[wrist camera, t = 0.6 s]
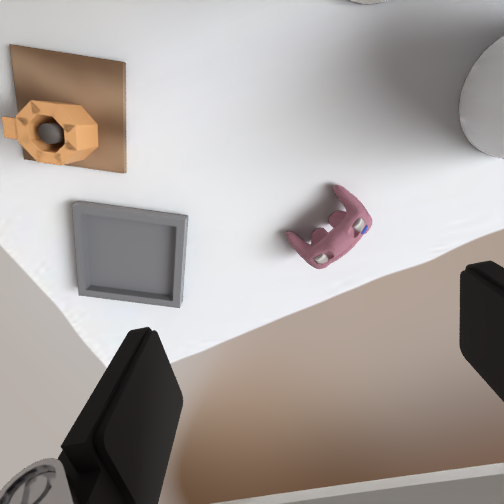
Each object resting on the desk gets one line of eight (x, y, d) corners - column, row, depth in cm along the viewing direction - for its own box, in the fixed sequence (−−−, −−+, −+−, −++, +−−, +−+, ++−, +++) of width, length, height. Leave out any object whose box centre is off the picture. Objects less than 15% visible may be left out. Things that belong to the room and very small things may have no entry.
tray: (79, 200, 42) (71, 204, 40) (188, 215, 43) (185, 220, 41) (85, 288, 47) (78, 295, 45) (182, 300, 48) (179, 308, 46)
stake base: (14, 45, 36) (-27, 33, 30) (125, 63, 36) (103, 54, 31) (28, 158, 40) (-6, 164, 35) (126, 172, 41) (107, 180, 36)
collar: (29, 97, 37) (-3, 95, 32) (96, 107, 37) (74, 106, 33) (35, 152, 39) (6, 157, 35) (99, 161, 39) (78, 167, 35)
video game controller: (299, 247, 46) (323, 281, 41) (280, 233, 43) (302, 268, 38) (353, 196, 43) (386, 227, 38) (336, 178, 40) (369, 208, 35)
